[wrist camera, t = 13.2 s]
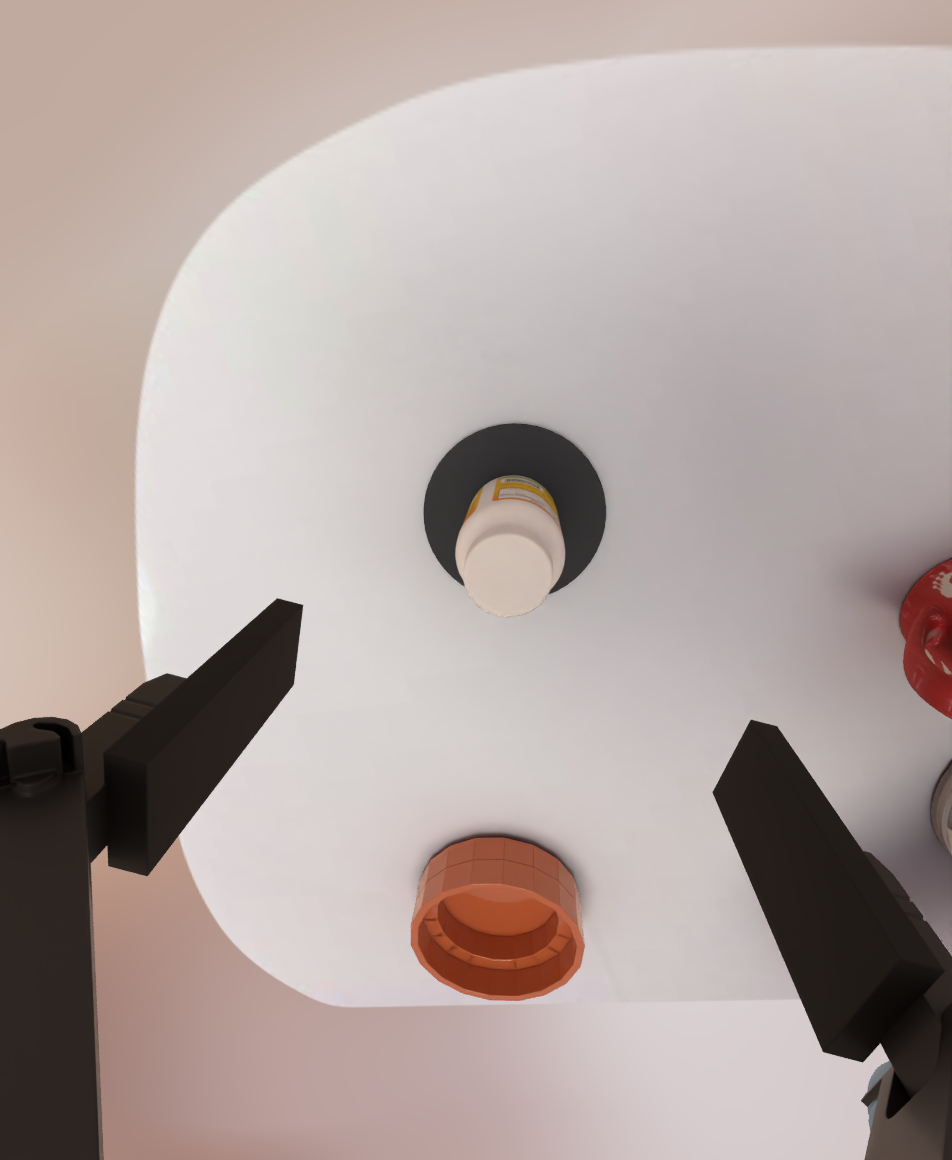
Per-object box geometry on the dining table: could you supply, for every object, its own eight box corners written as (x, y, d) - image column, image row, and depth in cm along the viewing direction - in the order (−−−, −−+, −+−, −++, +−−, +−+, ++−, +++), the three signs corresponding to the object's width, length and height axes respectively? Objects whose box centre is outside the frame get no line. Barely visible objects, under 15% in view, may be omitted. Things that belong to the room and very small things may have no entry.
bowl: (612, 898, 44) (621, 953, 40) (499, 965, 48) (497, 1021, 44) (497, 806, 41) (494, 855, 37) (389, 886, 46) (375, 938, 42)
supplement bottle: (495, 574, 34) (483, 650, 25) (452, 500, 32) (423, 552, 23) (573, 536, 32) (590, 602, 23) (532, 457, 31) (534, 495, 22)
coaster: (643, 515, 32) (645, 517, 32) (514, 630, 36) (514, 632, 35) (512, 381, 30) (512, 381, 29) (388, 517, 33) (387, 519, 33)
